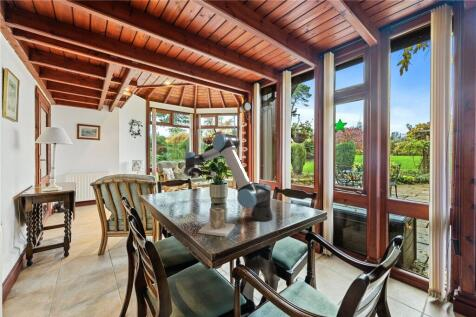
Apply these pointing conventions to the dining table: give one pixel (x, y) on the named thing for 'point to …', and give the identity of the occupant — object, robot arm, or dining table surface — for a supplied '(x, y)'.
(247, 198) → the robot arm
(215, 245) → the dining table surface
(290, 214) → the dining table surface
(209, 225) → the base plate
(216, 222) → the birch sleeve
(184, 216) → the dining table surface
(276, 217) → the dining table surface
